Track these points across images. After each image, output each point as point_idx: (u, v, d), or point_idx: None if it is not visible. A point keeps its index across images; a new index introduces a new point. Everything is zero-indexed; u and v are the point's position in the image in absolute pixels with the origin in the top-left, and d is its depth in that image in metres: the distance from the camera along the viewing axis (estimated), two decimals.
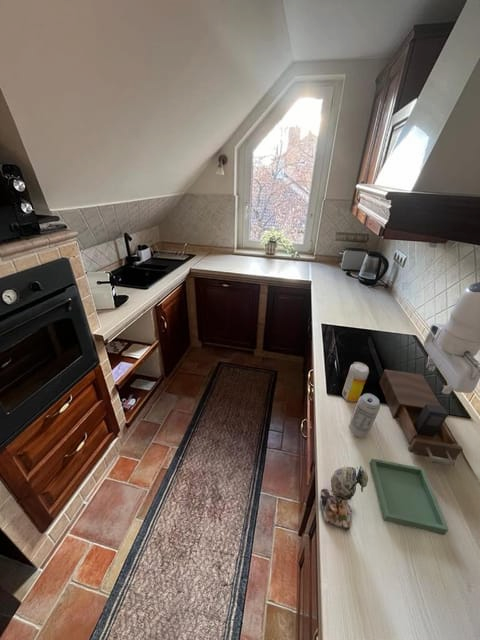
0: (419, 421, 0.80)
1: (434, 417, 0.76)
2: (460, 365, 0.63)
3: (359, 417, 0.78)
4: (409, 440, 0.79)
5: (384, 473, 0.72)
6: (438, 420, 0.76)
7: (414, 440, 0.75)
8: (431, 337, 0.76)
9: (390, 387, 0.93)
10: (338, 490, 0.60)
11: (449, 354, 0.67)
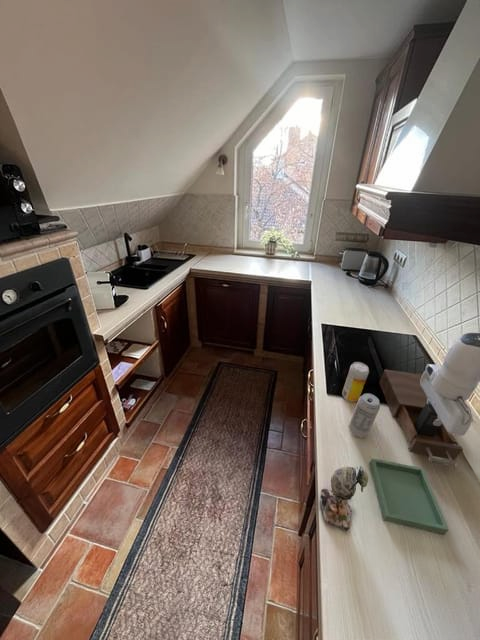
0: (419, 421, 0.80)
1: (434, 417, 0.76)
2: (453, 410, 0.67)
3: (359, 417, 0.78)
4: (409, 440, 0.79)
5: (384, 473, 0.72)
6: None
7: (414, 440, 0.75)
8: (427, 376, 0.80)
9: (390, 387, 0.93)
10: (338, 490, 0.60)
11: (443, 397, 0.71)
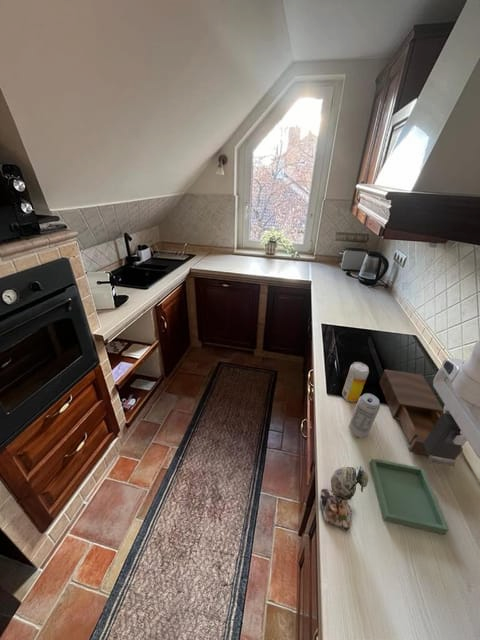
0: (432, 437, 0.58)
1: (455, 432, 0.54)
2: None
3: (359, 417, 0.78)
4: (409, 440, 0.79)
5: (384, 473, 0.72)
6: None
7: (414, 440, 0.75)
8: (443, 375, 0.58)
9: (390, 387, 0.93)
10: (338, 490, 0.60)
11: (470, 405, 0.49)
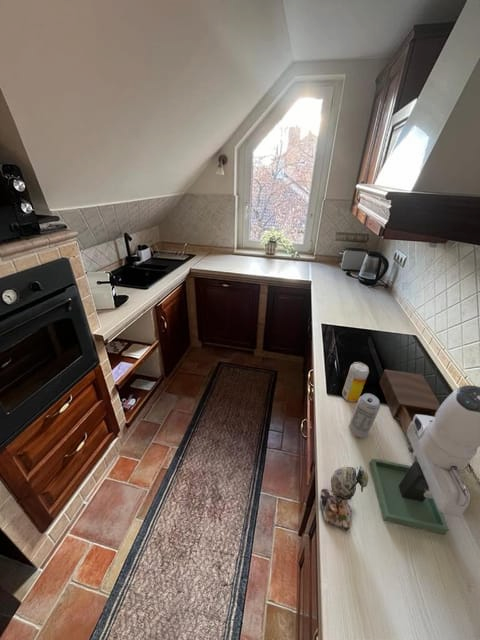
0: (406, 482, 0.66)
1: (423, 481, 0.61)
2: (445, 484, 0.53)
3: (359, 417, 0.78)
4: (409, 440, 0.79)
5: (384, 473, 0.72)
6: None
7: None
8: (415, 428, 0.66)
9: (390, 387, 0.93)
10: (338, 490, 0.60)
11: (433, 462, 0.57)
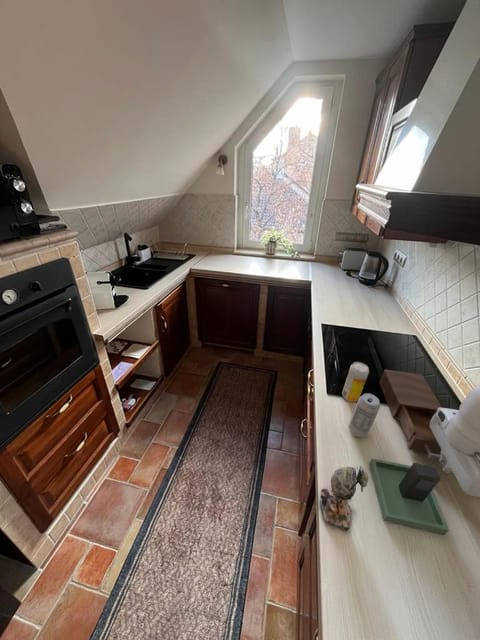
0: (406, 482, 0.66)
1: (423, 481, 0.61)
2: (470, 468, 0.59)
3: (359, 417, 0.78)
4: (408, 438, 0.80)
5: (384, 473, 0.72)
6: (428, 485, 0.62)
7: (413, 438, 0.76)
8: (438, 420, 0.72)
9: (390, 387, 0.93)
10: (338, 490, 0.60)
11: (458, 450, 0.63)
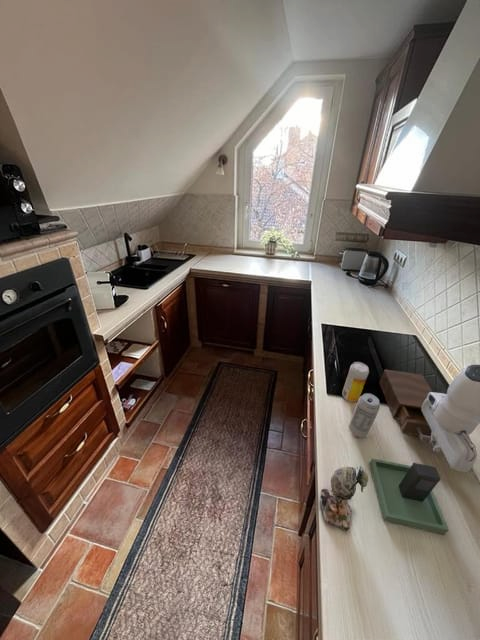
0: (406, 482, 0.66)
1: (423, 481, 0.61)
2: (457, 445, 0.64)
3: (359, 417, 0.78)
4: (401, 422, 0.85)
5: (384, 473, 0.72)
6: (428, 485, 0.62)
7: (406, 421, 0.81)
8: (428, 404, 0.77)
9: (390, 387, 0.93)
10: (338, 490, 0.60)
11: (446, 429, 0.68)
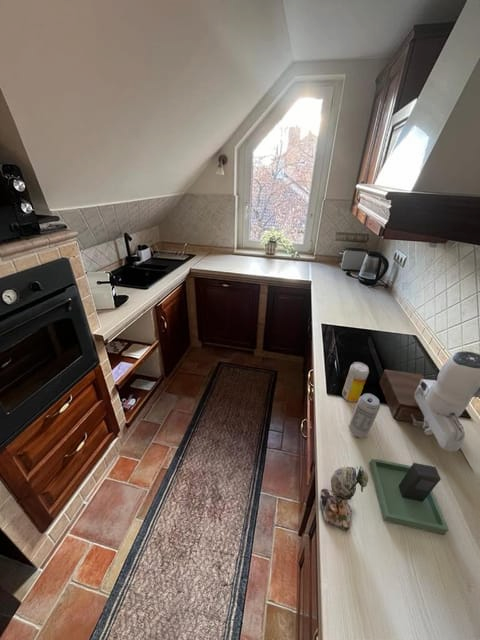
0: (406, 482, 0.66)
1: (423, 481, 0.61)
2: (446, 426, 0.69)
3: (359, 417, 0.78)
4: None
5: (384, 473, 0.72)
6: (428, 485, 0.62)
7: (400, 408, 0.85)
8: (421, 390, 0.82)
9: (390, 387, 0.93)
10: (338, 490, 0.60)
11: (437, 413, 0.73)
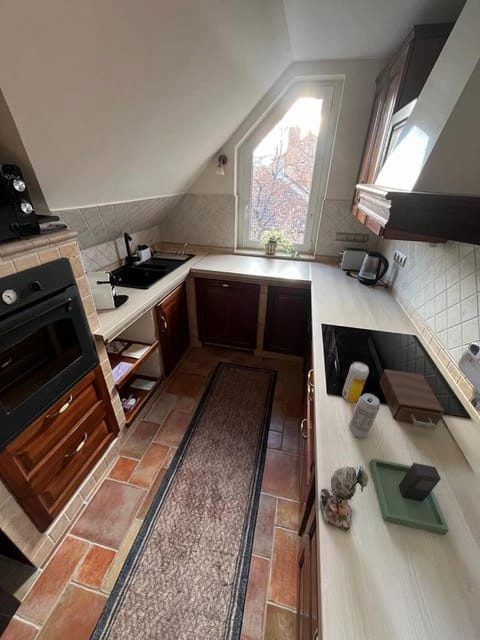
0: (406, 482, 0.66)
1: (423, 481, 0.61)
2: None
3: (359, 417, 0.78)
4: None
5: (384, 473, 0.72)
6: (428, 485, 0.62)
7: (400, 408, 0.85)
8: (469, 357, 0.66)
9: (390, 387, 0.93)
10: (338, 490, 0.60)
11: None
